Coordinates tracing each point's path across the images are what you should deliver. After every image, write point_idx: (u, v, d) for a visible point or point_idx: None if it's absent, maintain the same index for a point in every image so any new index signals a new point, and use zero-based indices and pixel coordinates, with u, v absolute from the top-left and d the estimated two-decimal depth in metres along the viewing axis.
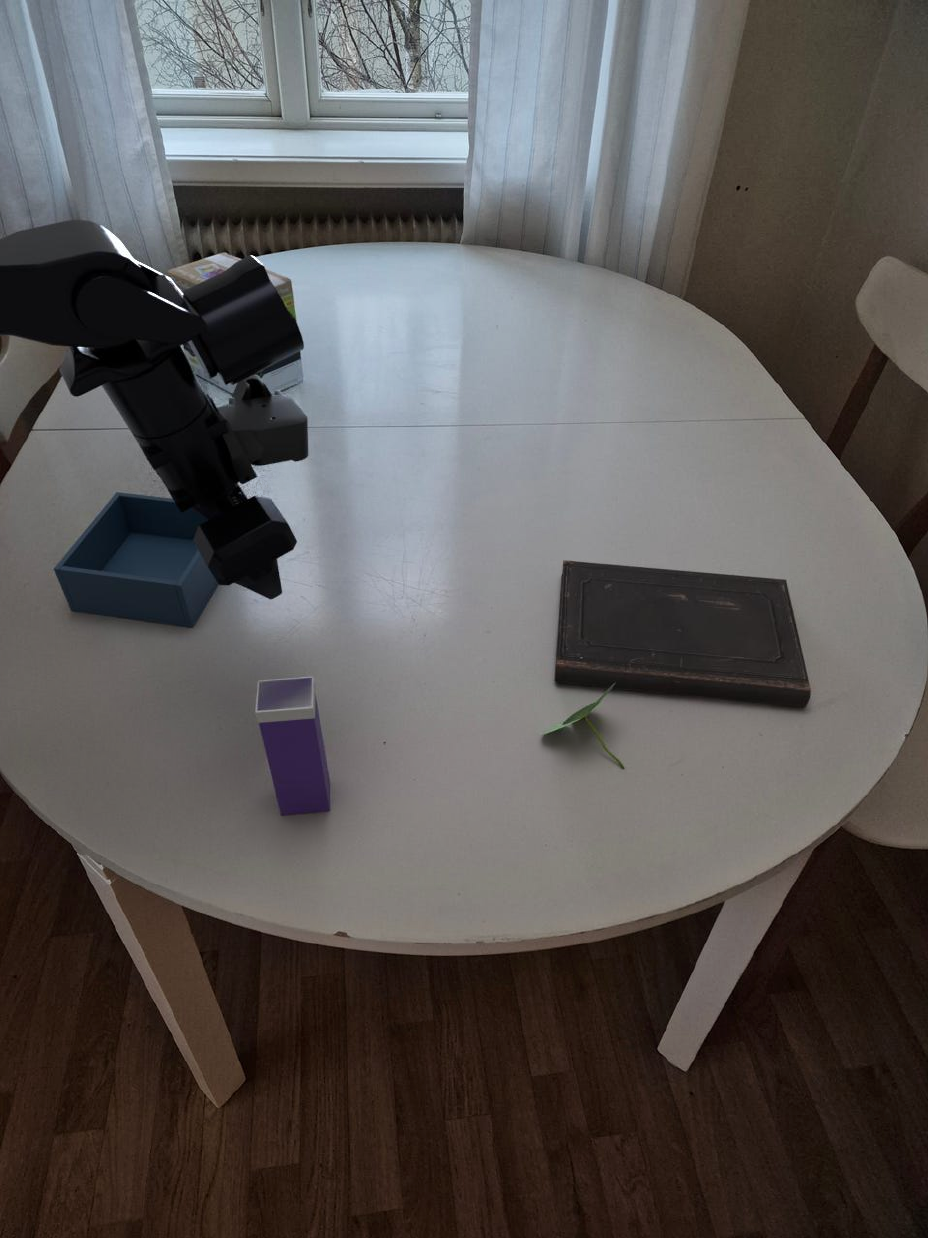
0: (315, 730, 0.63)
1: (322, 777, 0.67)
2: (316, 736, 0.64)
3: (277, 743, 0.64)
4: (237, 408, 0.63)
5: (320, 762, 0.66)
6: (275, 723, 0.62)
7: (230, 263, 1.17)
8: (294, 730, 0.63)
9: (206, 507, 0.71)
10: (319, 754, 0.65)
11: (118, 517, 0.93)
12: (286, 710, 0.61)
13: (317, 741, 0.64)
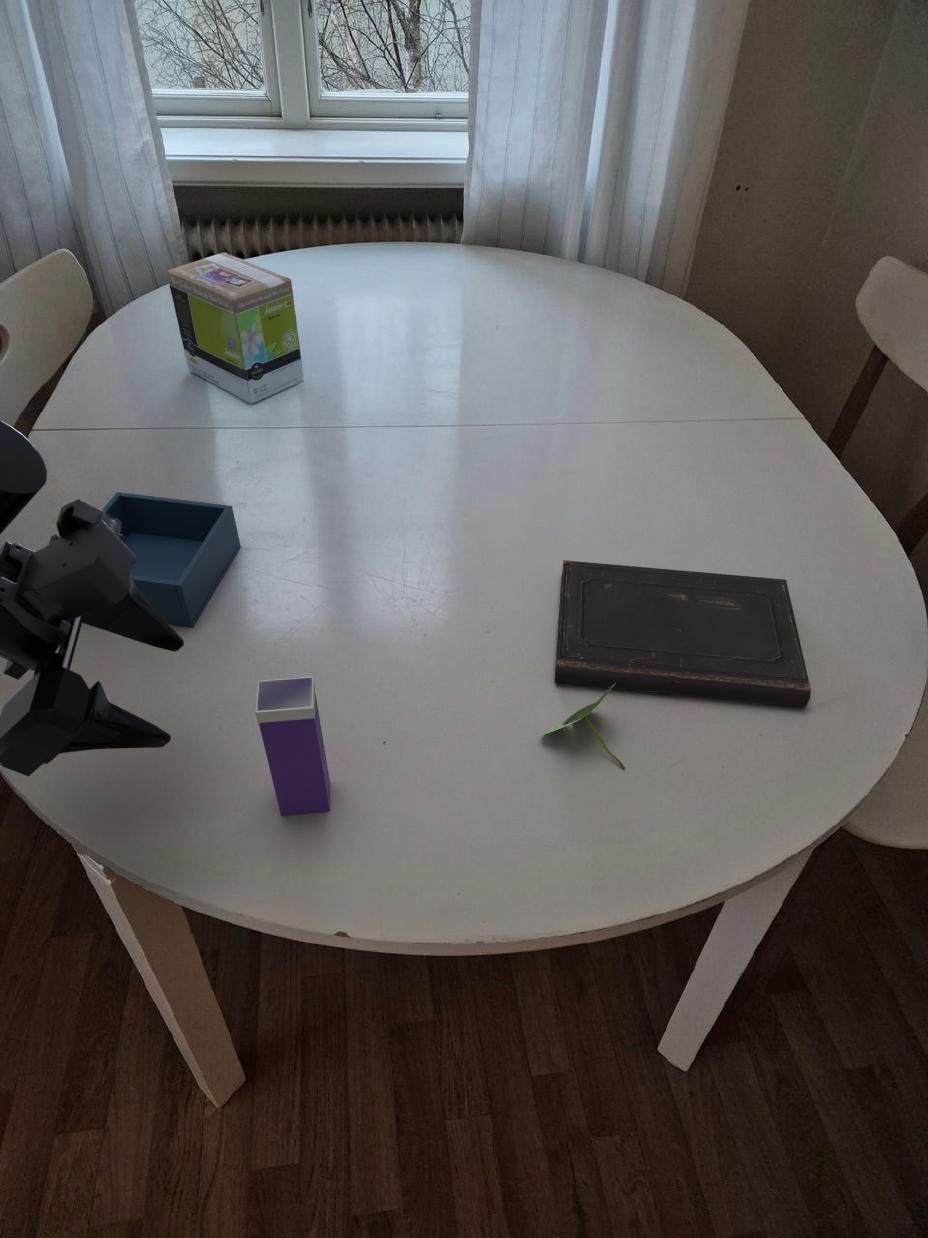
0: (315, 730, 0.63)
1: (322, 777, 0.67)
2: (316, 736, 0.64)
3: (277, 743, 0.64)
4: (46, 553, 0.54)
5: (320, 762, 0.66)
6: (275, 723, 0.62)
7: (230, 263, 1.17)
8: (294, 730, 0.63)
9: (127, 630, 0.64)
10: (319, 754, 0.65)
11: (118, 517, 0.93)
12: (286, 710, 0.61)
13: (317, 741, 0.64)
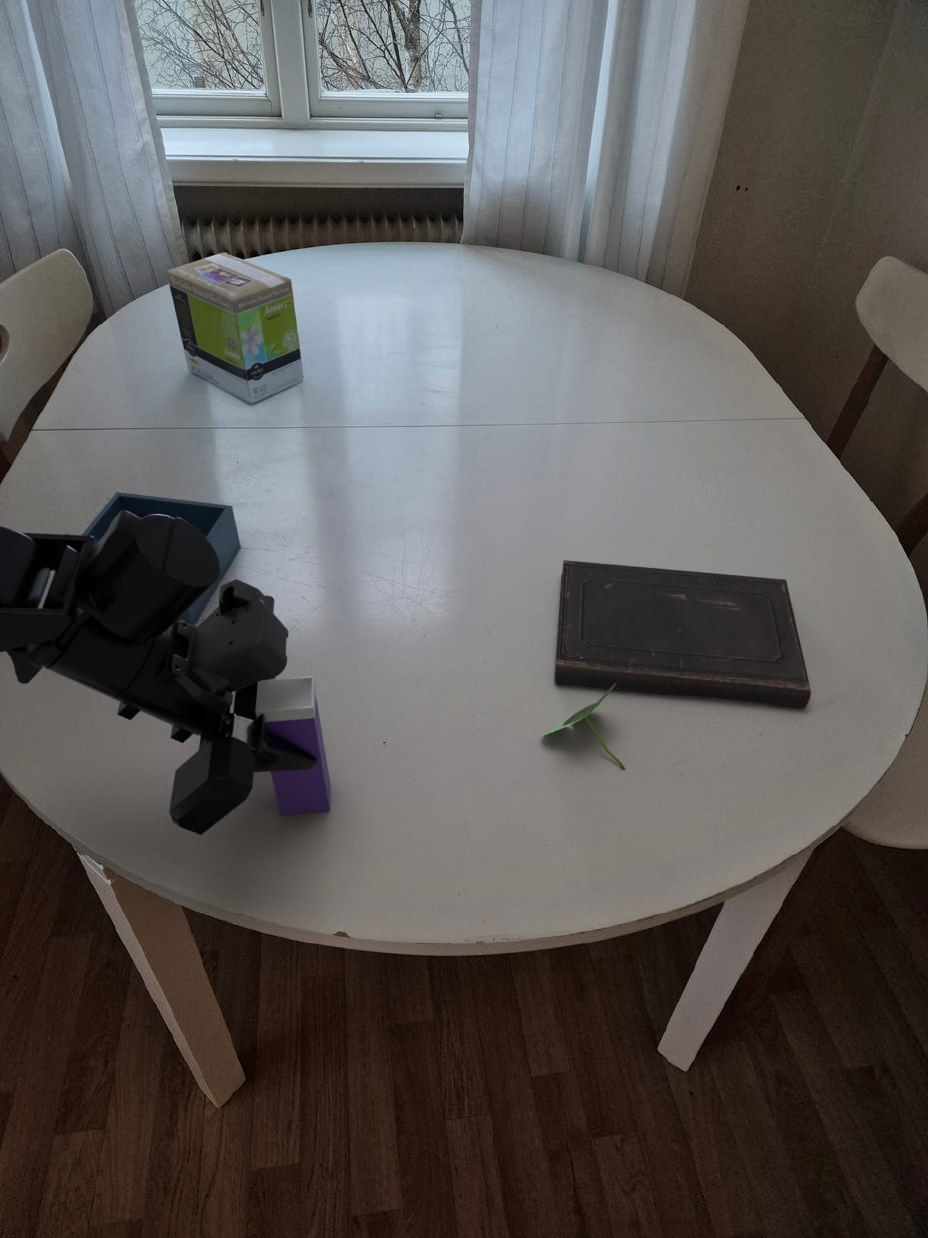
0: (315, 730, 0.63)
1: (322, 777, 0.67)
2: (316, 736, 0.64)
3: None
4: (210, 630, 0.59)
5: (320, 762, 0.66)
6: (275, 722, 0.62)
7: (230, 263, 1.17)
8: (294, 730, 0.63)
9: None
10: (319, 754, 0.65)
11: None
12: (286, 710, 0.61)
13: (317, 741, 0.64)
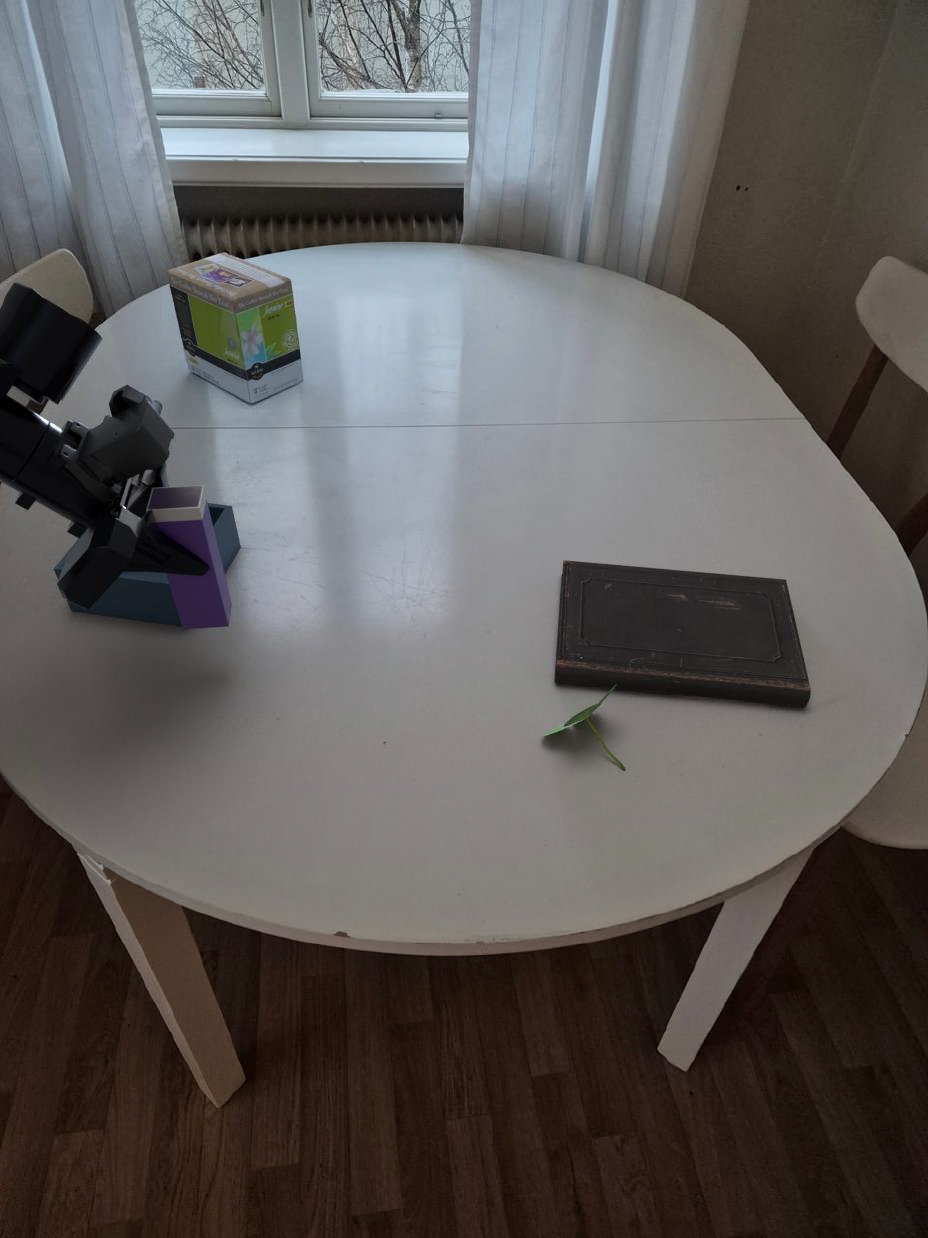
0: (204, 533, 0.69)
1: (217, 587, 0.73)
2: (206, 540, 0.69)
3: None
4: (100, 428, 0.65)
5: (213, 570, 0.72)
6: (166, 523, 0.68)
7: (230, 263, 1.17)
8: (184, 532, 0.69)
9: None
10: (211, 561, 0.71)
11: None
12: (174, 509, 0.67)
13: (208, 546, 0.70)
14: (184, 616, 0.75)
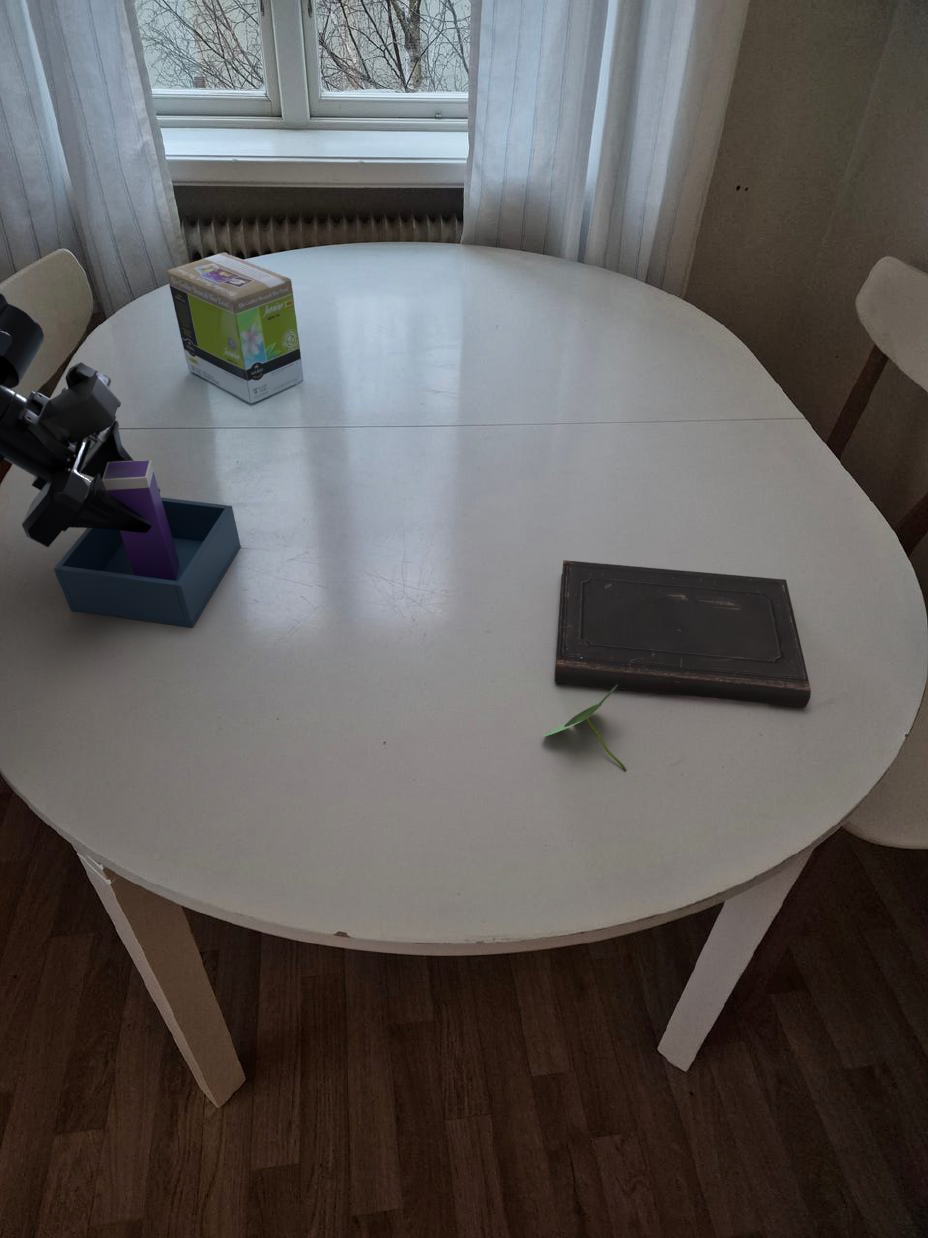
0: (151, 499, 0.83)
1: (164, 546, 0.87)
2: (153, 505, 0.84)
3: None
4: (58, 398, 0.78)
5: (160, 531, 0.86)
6: (119, 491, 0.82)
7: (230, 263, 1.17)
8: (135, 498, 0.83)
9: None
10: (158, 523, 0.85)
11: None
12: (126, 479, 0.81)
13: (155, 510, 0.84)
14: (138, 572, 0.89)
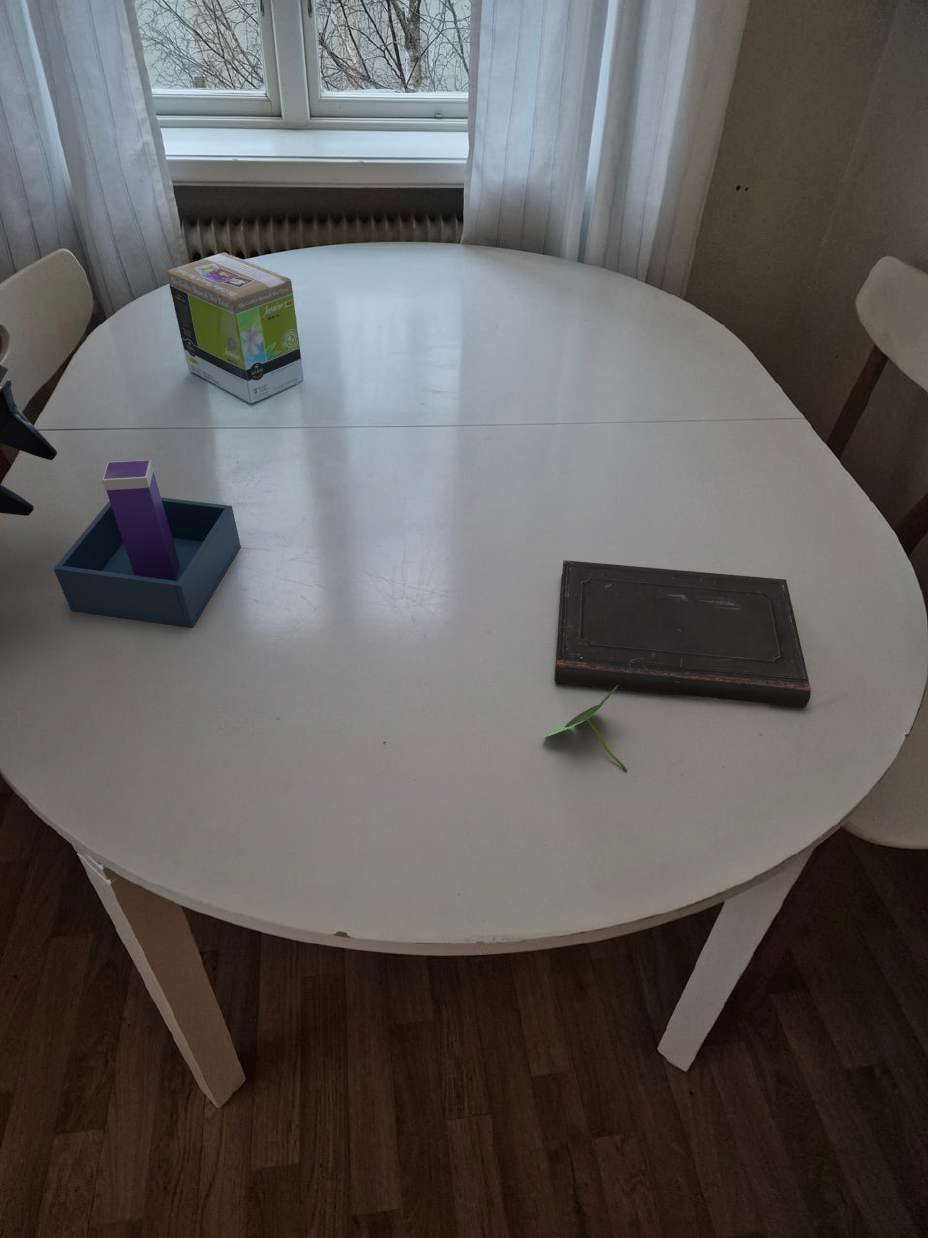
0: (151, 499, 0.83)
1: (164, 546, 0.87)
2: (153, 505, 0.84)
3: (124, 510, 0.84)
4: None
5: (160, 531, 0.86)
6: (119, 491, 0.82)
7: (230, 263, 1.17)
8: (135, 498, 0.83)
9: (12, 441, 0.84)
10: (158, 523, 0.85)
11: None
12: (126, 479, 0.81)
13: (155, 510, 0.84)
14: (138, 572, 0.89)
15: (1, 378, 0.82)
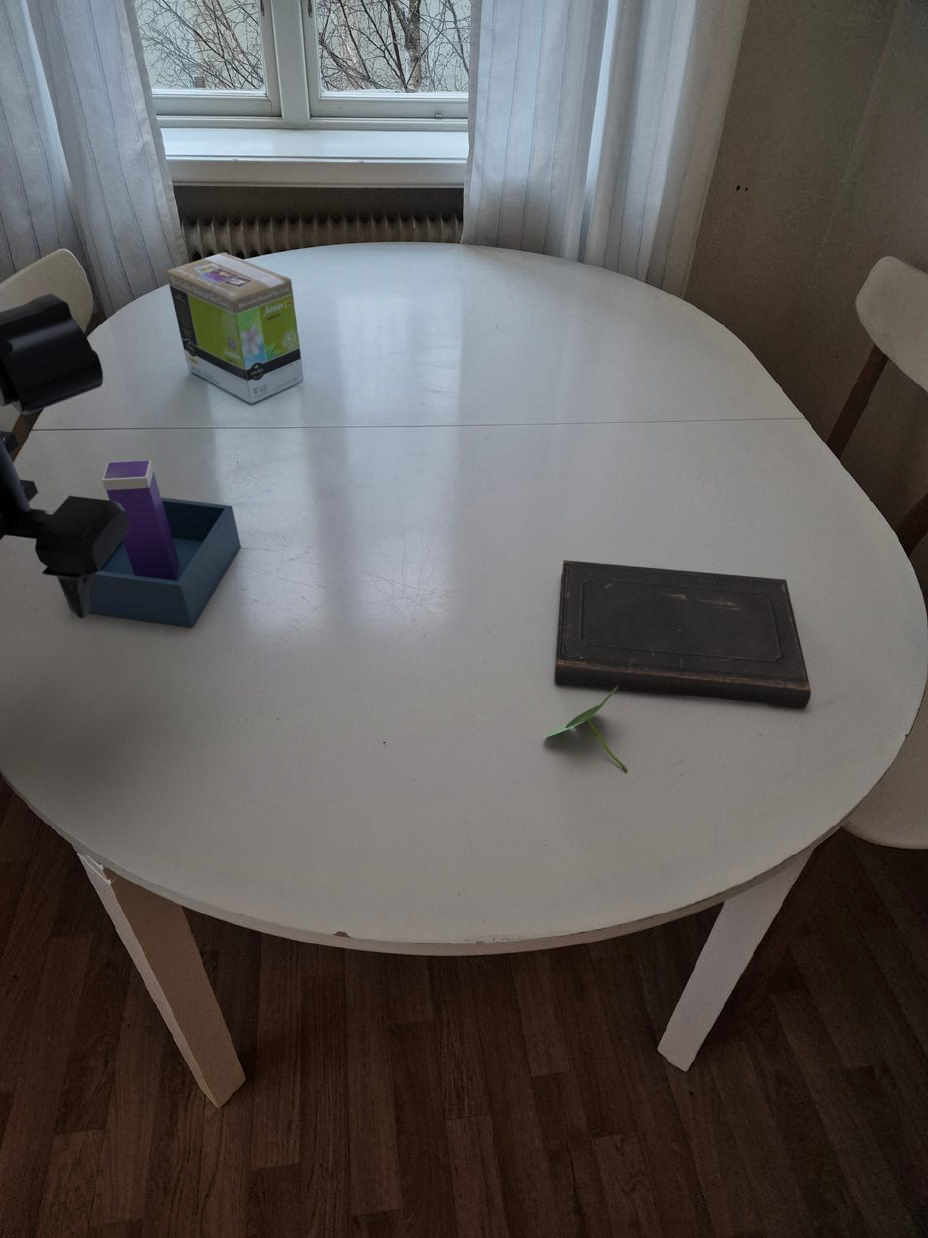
0: (151, 499, 0.83)
1: (164, 546, 0.87)
2: (153, 505, 0.84)
3: None
4: None
5: (160, 531, 0.86)
6: (119, 491, 0.82)
7: (230, 263, 1.17)
8: (135, 498, 0.83)
9: None
10: (158, 523, 0.85)
11: None
12: (126, 479, 0.81)
13: (155, 510, 0.84)
14: (138, 572, 0.89)
15: (59, 570, 0.61)
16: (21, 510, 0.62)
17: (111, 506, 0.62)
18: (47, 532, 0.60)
